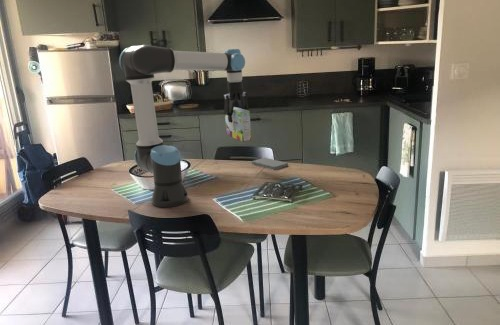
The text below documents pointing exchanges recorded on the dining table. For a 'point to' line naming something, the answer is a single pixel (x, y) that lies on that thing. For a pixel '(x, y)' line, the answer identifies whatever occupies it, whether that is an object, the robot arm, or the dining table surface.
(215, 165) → the dining table surface
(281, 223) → the dining table surface
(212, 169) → the dining table surface
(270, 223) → the dining table surface
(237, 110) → the snack box
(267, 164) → the slate board
